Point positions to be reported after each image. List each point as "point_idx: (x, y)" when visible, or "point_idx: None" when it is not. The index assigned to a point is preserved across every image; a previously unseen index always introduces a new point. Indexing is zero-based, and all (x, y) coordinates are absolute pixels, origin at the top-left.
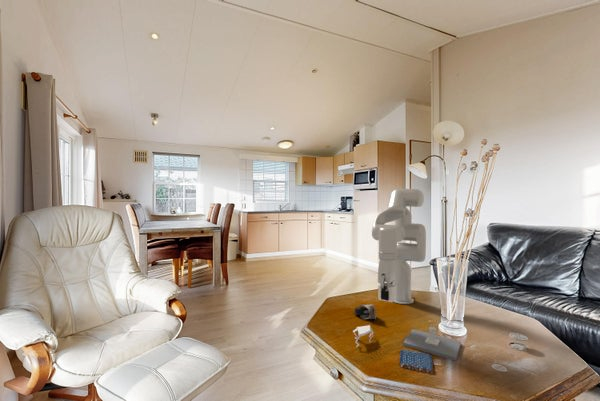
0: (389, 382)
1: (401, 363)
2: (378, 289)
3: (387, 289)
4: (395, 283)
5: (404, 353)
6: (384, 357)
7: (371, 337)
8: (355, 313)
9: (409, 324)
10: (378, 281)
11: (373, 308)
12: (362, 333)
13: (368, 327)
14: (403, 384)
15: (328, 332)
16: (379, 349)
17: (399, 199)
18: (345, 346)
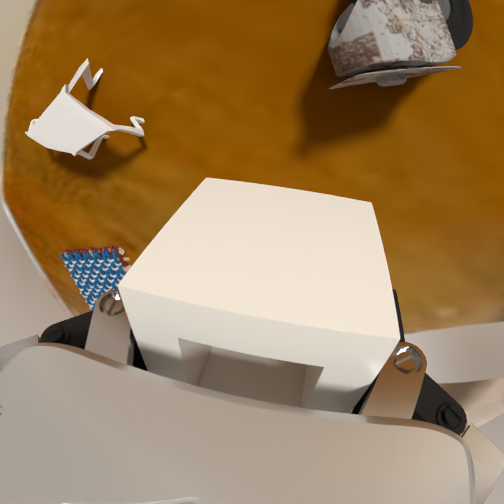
0: (19, 238)
1: (64, 257)
2: (151, 246)
3: (139, 361)
4: None
5: (101, 261)
6: (67, 208)
7: (90, 150)
8: None
9: (388, 251)
10: (14, 360)
11: (401, 68)
12: (36, 140)
13: (87, 135)
14: (33, 261)
15: None
16: (89, 182)
17: None
18: (39, 82)
